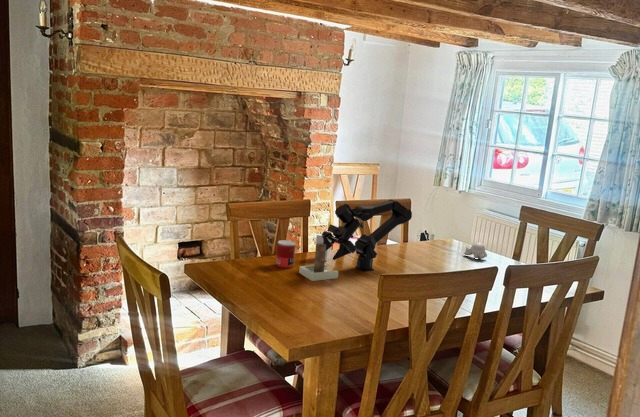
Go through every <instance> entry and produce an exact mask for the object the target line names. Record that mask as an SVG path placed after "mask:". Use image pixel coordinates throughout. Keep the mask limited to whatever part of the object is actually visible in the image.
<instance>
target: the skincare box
mask: <svg viewBox="0 0 640 417" xmlns="http://www.w3.org/2000/svg"><path fill="white" fill-rule="evenodd" d="M321 234H322V233H318V234H316V242H315V245H316V244H317V243H322V244H323V238H322V235H321ZM330 253H331V247H330V248H329V249H328V250H327V251H326V254H325V262H328V261H329V260H330Z"/></svg>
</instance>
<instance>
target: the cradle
mask: <svg viewBox="0 0 640 417" xmlns="http://www.w3.org/2000/svg"><path fill="white" fill-rule="evenodd" d="M327 265H328V264H326V263H325V266H324V272H316V273H314V264H310V265H301V266H299V272H298V273H299V274H301V275H302V276H304V277H305V278H306V279H308V280H309V281H311V282H315V281H323V280H333V279H338V278H339V272H340V271H339V270H337V269H336V270H328V269H327V267H328V266H327Z"/></svg>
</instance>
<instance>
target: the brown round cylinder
mask: <svg viewBox="0 0 640 417" xmlns="http://www.w3.org/2000/svg"><path fill="white" fill-rule="evenodd" d="M325 254H326V244H322V243H317V244H316V243H315V255H314V264H313V265H314V273H316V272H324V266H325V264H326V261H325Z"/></svg>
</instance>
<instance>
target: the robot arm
mask: <svg viewBox="0 0 640 417" xmlns="http://www.w3.org/2000/svg"><path fill="white" fill-rule="evenodd" d="M390 211H391V216H390V217H389V218H388V219H387V220H385V221H384V222H383V223H381V225H380V226H378V227H377V228H376V229H374V230H373V231H372V232H371V233H370V234H368V235H366V234H362V235H361V236H360V237H359V238H358V237H357V238H356V240H355V242H354V243H353V241H351V240H350V239H354V233H356V231H357V230H358V229H362V230H363V229H364V225H363V223H364V222H367V221H369V220H371V219H373V217H374V216H376V215H379V214H383V213H387V212H390ZM334 214H335V215H336V216H337V218H338V220H340V222H341V223H343V225H342V226H341V225H339V226H336V225H333V224H332V223H331V224H330V223H329V226H328V227H327V230H324V231H323V232H322V233H320V234H321V235H322V238H323V244H326V251H327V250H328V249H329V248H330V249H331V248H332V247H333V245H334V244H335V243H336V244H338V245H339V248H338V249H337V251H336V253H334V256H333V257H332V260H333V261H336V260H337V259H341V258H342V257H344V256H346V255H350V254H354V253H356V255H358V257H357V260H356V265H355V268H356V269H358V270H360V271H361V272H366V271H367V272H368V271H374V270H375V268H373V261H374V259H375V258H376V257H377V256H378V253H377V251H375V249H376V246H377V243H379V242H380V241H381V240H382V239H383V238H384V237H386V236H387V235H388V234H389V233H391V232H392V230H394V229H395V228H396V227H398V226H400V225H403V224H406V223H407V222H409V221H410V220H412V217H413V212H412V210H411V209H409V208H408V207H406V206H404V205H403V204H401V203H400V202H399V201H398V200H396V199H389V200H386V201H382V202H379V203H375V204H372V205H371V204H370V205H357V206H355V207H353V208H351V207H350V205H349V204H348V203H344V204H343V205H340V206H338V207H336V209H335V210H334ZM362 221H363V222H362Z"/></svg>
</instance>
